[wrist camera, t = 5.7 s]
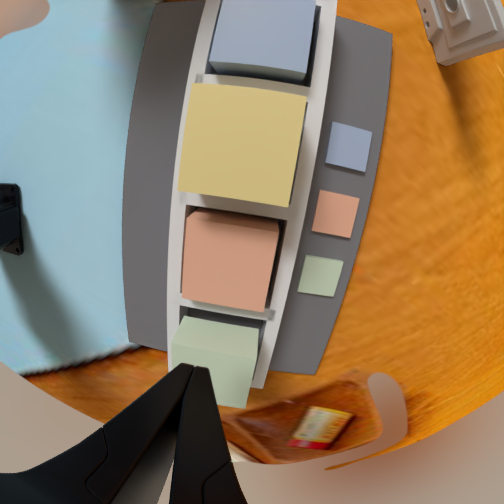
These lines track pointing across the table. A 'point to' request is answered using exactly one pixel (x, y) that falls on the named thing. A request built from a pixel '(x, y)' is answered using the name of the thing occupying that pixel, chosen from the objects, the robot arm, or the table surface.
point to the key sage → (219, 356)
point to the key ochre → (241, 143)
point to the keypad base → (289, 218)
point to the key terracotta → (228, 258)
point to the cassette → (463, 28)
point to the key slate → (263, 39)
